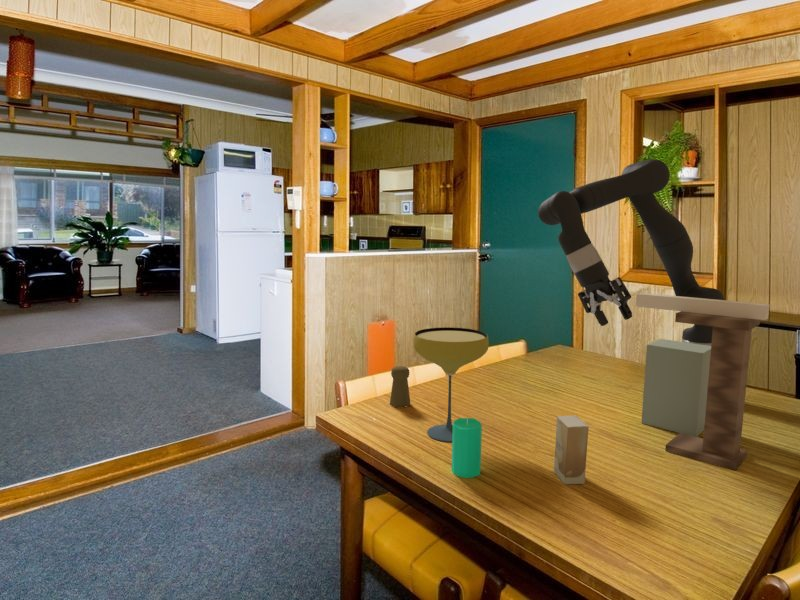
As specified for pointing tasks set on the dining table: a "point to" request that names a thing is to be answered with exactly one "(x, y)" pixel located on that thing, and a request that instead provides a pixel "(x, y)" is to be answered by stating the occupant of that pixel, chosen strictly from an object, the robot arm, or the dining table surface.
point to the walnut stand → (721, 392)
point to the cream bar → (704, 306)
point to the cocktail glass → (449, 359)
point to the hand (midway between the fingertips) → (616, 321)
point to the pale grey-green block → (676, 386)
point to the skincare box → (571, 449)
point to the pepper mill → (400, 387)
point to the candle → (466, 447)
